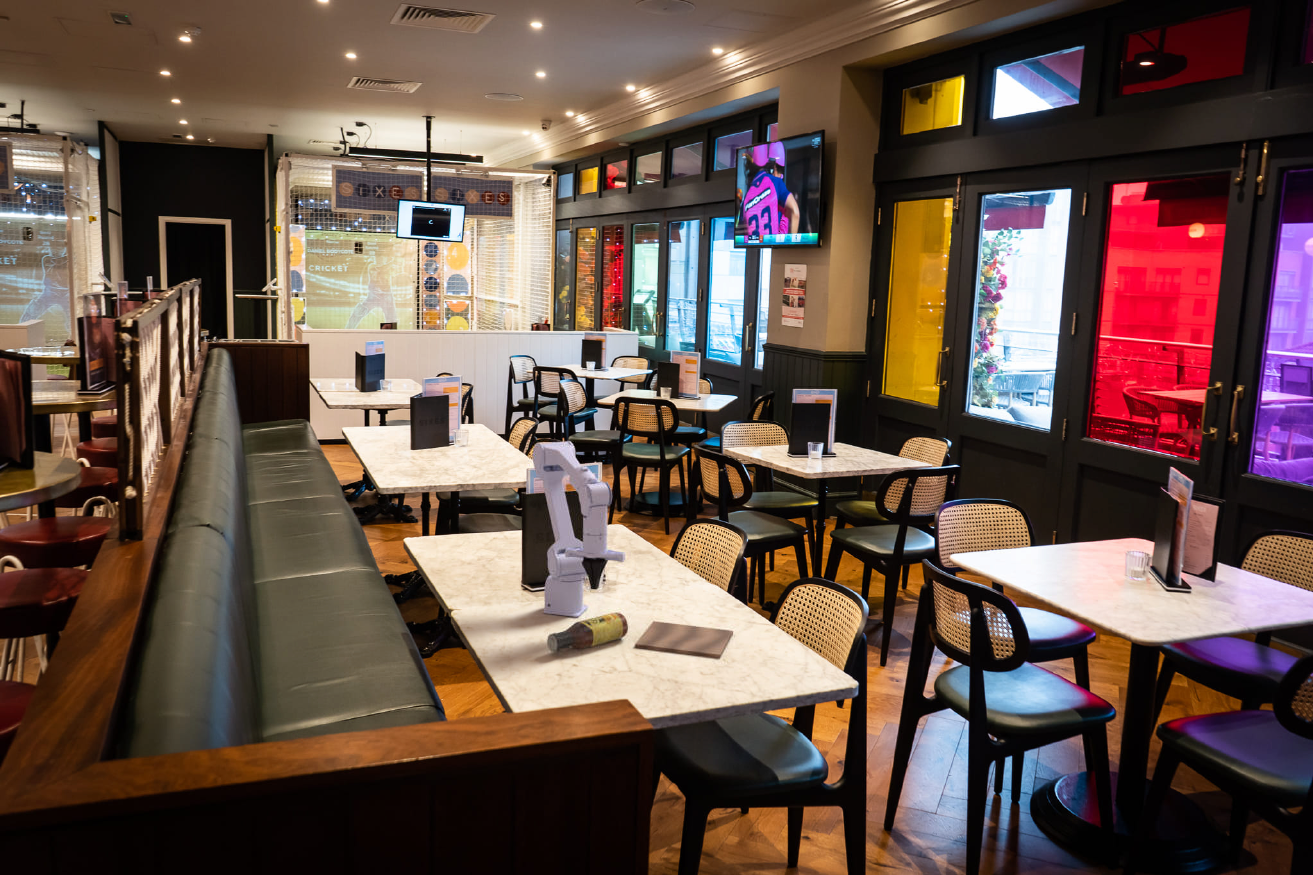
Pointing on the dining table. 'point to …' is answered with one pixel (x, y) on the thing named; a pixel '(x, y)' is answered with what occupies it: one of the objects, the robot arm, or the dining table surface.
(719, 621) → the dining table surface
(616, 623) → the sauce bottle
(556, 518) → the robot arm
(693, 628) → the walnut board
